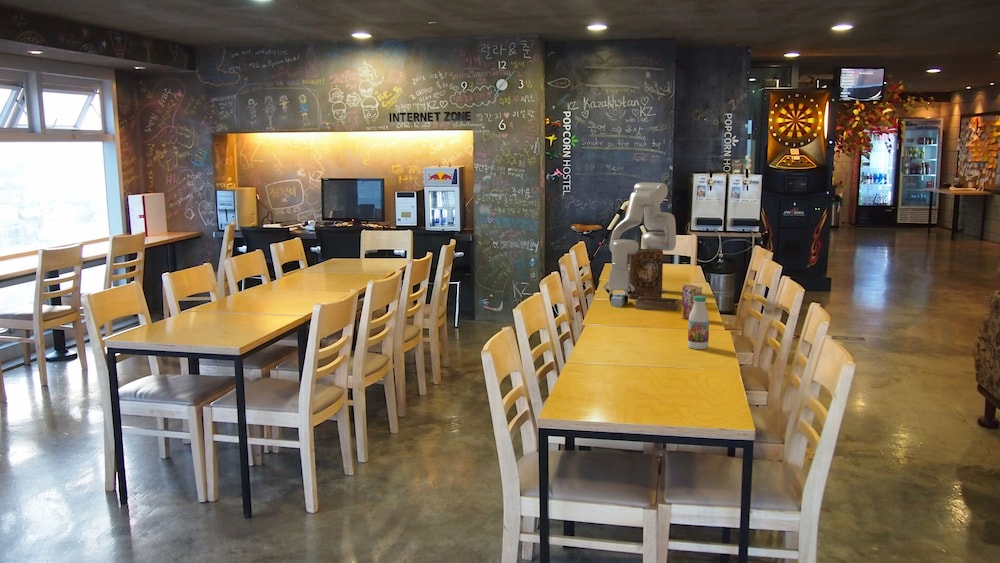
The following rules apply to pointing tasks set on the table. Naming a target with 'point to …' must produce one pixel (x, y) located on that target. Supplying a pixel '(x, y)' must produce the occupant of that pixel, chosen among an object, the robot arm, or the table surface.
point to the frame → (657, 303)
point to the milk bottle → (698, 324)
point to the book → (646, 273)
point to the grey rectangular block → (618, 300)
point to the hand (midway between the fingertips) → (618, 302)
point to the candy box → (689, 299)
